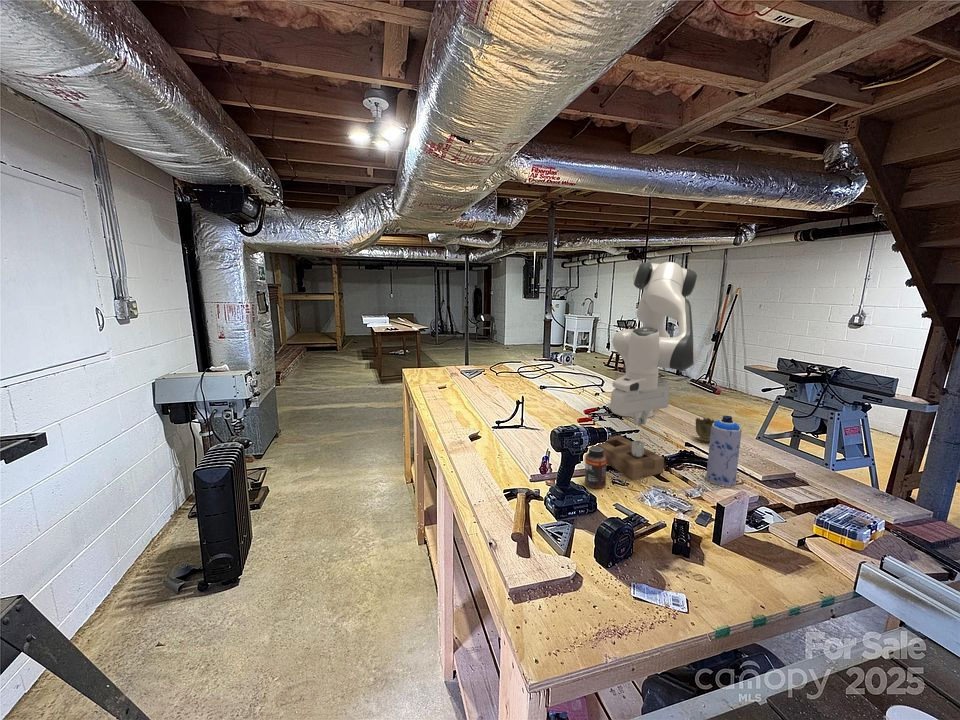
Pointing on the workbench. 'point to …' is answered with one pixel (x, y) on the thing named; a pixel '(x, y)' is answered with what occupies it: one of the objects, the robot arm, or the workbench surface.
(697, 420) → the cup
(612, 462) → the socket block
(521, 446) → the workbench surface
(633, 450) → the peg
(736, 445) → the aerosol can
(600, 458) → the supplement bottle
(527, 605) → the workbench surface
